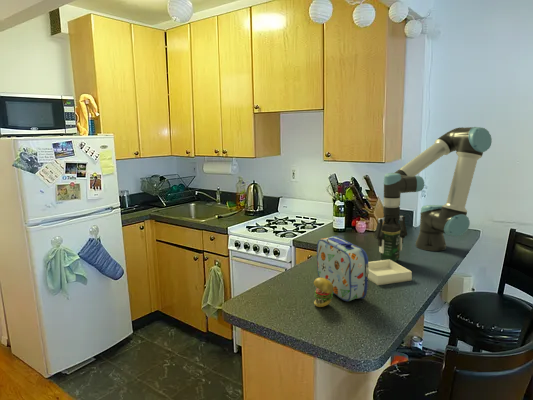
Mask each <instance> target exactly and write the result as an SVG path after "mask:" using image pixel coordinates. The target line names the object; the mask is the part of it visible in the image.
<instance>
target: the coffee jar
mask: <svg viewBox="0 0 533 400" xmlns="http://www.w3.org/2000/svg"><path fill="white" fill-rule="evenodd" d="M383 224H384V223H383ZM400 228H401V225H400V223H399V225H396V224H393V223H391V224H384V225H382V229H381V230H382V232H384V237H383V240H384V253H381V252H380V260H389V259H390V260H392V261H394V262H395V263H396V262H397V261H398V260H400V257H401V256H400V252H401V251H400Z"/></svg>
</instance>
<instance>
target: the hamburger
mask: <svg viewBox="0 0 533 400" xmlns="http://www.w3.org/2000/svg"><path fill="white" fill-rule="evenodd" d="M328 278H329V277H328ZM313 285H314V288H315V290H314V299H315V300H314V301H313V304H314V305H315V307H317V308H324V307H326V306H328V305H330V304H331V302H332V299H333V295H334V293H333V285H332V283H331V282H330V281H329V280H327V279H325V278H319V277H317V278H315V279H314V281H313Z"/></svg>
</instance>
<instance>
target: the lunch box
mask: <svg viewBox="0 0 533 400" xmlns="http://www.w3.org/2000/svg"><path fill="white" fill-rule="evenodd" d="M316 244H317V245H316V267H317V275H318V278H325V279H327V280H329V281H330V282H331V283H332V285H333V295H335V296H336V297H338V298H340V300H341V301H345V302H351V301H352V300H355V299H356V300H357V299H365V298H366V296H367V294H368V293H367V292H368V290H369V285H370V284H369V279H368V278H367V277H368V274H369V268H368V262H369V256H368V254H367V252H366V251H365V249H363V248H362V247H360V246H358V245H356V244H354V243H352V242H350V241H348V240H346V239H344V238H343V237H340V236H338V235H333V236H330V237H325V238H319V239H318V241H317V243H316ZM328 277H329V278H328Z"/></svg>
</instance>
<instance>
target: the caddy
mask: <svg viewBox="0 0 533 400" xmlns="http://www.w3.org/2000/svg"><path fill="white" fill-rule="evenodd" d="M368 268H369V274H368V277H367V280H368V281H370V282H372V283H373V284H375V285H376V286H382V285H388V284H389V285H390V284H395V283H396V284H397V283H404V282H410V281H412V280H413V279H412V277H413V276H412V273H413V272H412V271H411V270H410V269H408V268H406V267H404V266H402V265H400V264H399V263H397V262H396V261H395V262H394V261H392V260H390V259H389V260H381V259H380V260H373V261H368Z"/></svg>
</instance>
